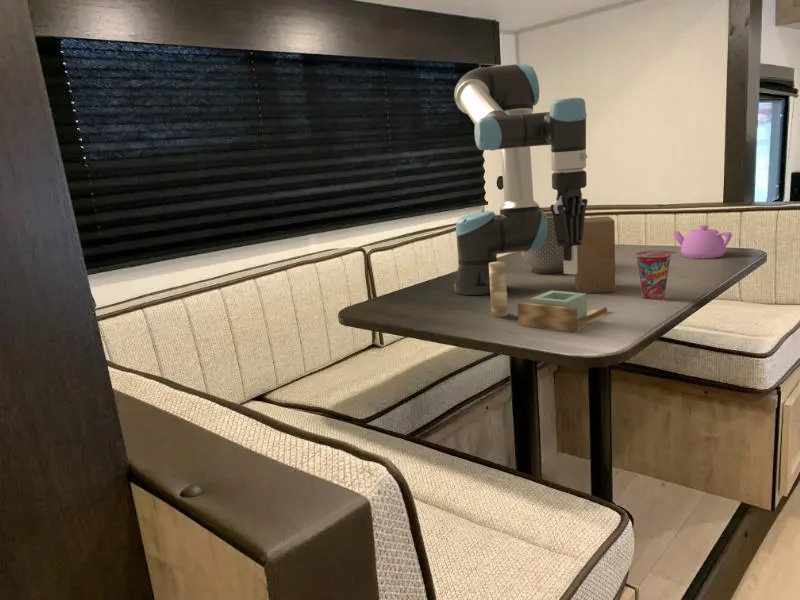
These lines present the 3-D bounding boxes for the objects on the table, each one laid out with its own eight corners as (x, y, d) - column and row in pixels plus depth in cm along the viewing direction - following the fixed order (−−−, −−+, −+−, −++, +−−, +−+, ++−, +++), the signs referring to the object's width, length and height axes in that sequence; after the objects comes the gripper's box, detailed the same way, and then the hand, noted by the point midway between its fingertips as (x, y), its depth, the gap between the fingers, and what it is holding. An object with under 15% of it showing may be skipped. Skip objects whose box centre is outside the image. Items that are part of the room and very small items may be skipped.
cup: (650, 304, 148) (650, 257, 145) (628, 298, 156) (628, 253, 153) (682, 299, 150) (682, 252, 147) (658, 293, 158) (659, 248, 155)
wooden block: (615, 292, 164) (614, 219, 159) (577, 294, 166) (576, 222, 161) (610, 284, 173) (609, 216, 169) (574, 286, 175) (573, 218, 171)
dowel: (488, 319, 147) (485, 264, 144) (497, 315, 150) (495, 261, 147) (502, 321, 145) (499, 264, 142) (511, 317, 147) (508, 261, 144)
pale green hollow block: (531, 323, 137) (530, 298, 135) (551, 314, 143) (551, 290, 141) (567, 328, 130) (566, 302, 129) (586, 319, 137) (586, 293, 135)
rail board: (518, 328, 137) (517, 303, 136) (560, 309, 150) (559, 286, 149) (574, 336, 128) (573, 309, 126) (613, 315, 141) (613, 291, 139)
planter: (569, 277, 189) (567, 217, 185) (510, 275, 200) (507, 218, 195) (585, 265, 205) (584, 210, 201) (530, 265, 216) (528, 212, 212)
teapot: (683, 251, 216) (684, 222, 214) (740, 255, 200) (742, 223, 198) (662, 257, 209) (662, 226, 206) (719, 261, 193) (720, 228, 190)
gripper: (569, 172, 126) (571, 280, 132) (598, 167, 135) (598, 269, 141) (538, 173, 132) (541, 277, 137) (568, 169, 140) (569, 266, 146)
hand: (570, 273), depth 139 cm, fingers closed
